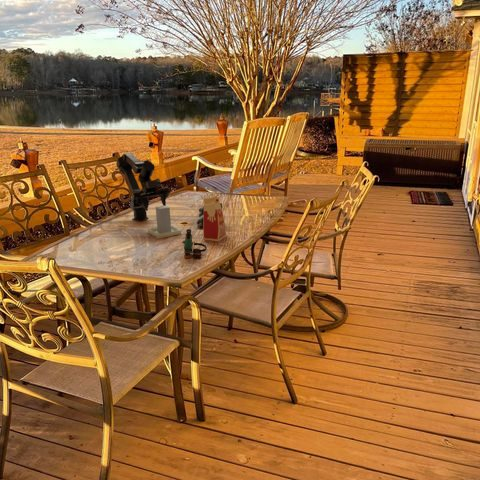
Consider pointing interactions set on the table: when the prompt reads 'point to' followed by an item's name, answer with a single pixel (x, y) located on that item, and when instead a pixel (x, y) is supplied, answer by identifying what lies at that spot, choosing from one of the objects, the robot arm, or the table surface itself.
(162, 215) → the post
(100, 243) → the table surface
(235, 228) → the table surface
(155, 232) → the tray
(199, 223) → the lucky cat figurine
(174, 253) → the butter knife
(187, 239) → the binoculars
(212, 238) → the milk carton
